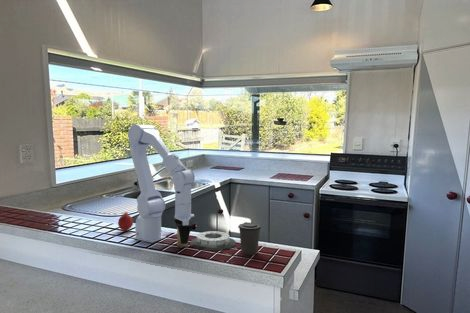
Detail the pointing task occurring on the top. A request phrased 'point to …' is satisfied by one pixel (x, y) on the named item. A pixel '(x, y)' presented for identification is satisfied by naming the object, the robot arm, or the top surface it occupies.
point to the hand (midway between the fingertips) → (182, 240)
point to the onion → (125, 222)
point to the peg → (180, 240)
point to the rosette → (213, 241)
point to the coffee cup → (249, 237)
